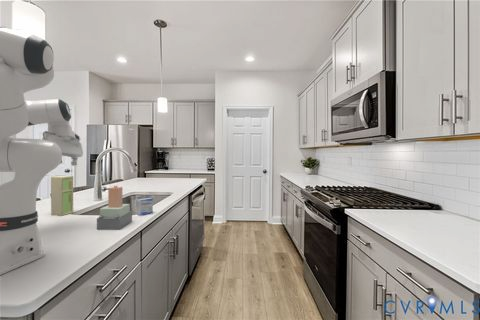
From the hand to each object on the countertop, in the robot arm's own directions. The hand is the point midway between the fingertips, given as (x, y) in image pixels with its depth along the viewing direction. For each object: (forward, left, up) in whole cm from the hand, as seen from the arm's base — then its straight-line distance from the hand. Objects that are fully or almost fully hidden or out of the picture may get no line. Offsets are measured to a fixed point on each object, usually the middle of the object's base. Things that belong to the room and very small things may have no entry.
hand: (67, 164), depth 110 cm
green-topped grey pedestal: (+6, -18, -29) cm, 35 cm away
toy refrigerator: (+26, +20, -29) cm, 44 cm away
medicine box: (+28, -24, -29) cm, 47 cm away
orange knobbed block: (+6, -18, -20) cm, 28 cm away
